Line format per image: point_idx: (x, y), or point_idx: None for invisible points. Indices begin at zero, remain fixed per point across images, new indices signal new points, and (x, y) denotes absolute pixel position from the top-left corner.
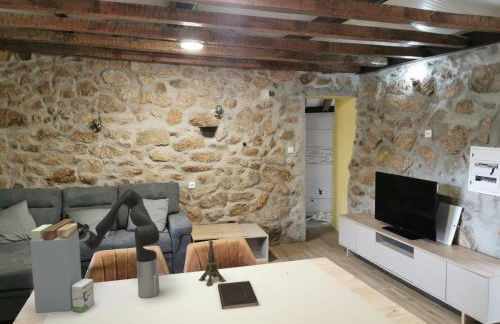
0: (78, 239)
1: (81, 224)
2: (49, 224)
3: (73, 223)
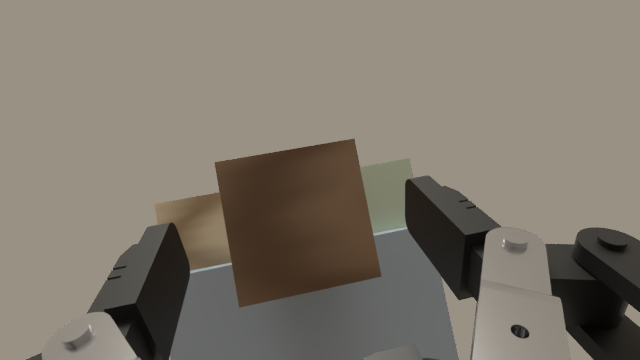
0: (173, 349)
1: (91, 312)
2: (365, 166)
3: (231, 241)
